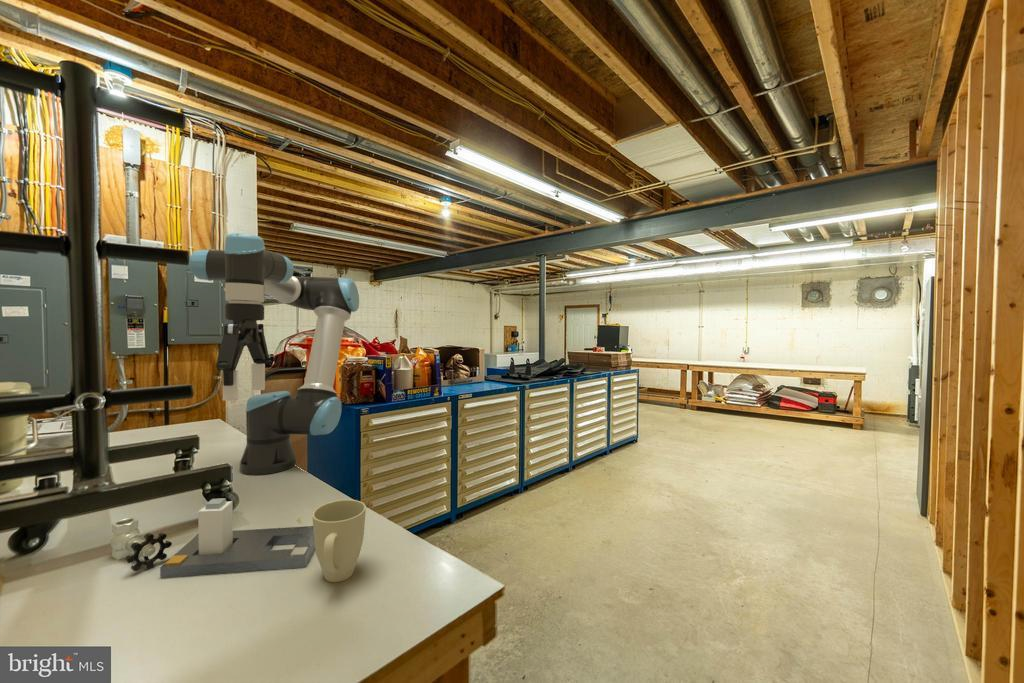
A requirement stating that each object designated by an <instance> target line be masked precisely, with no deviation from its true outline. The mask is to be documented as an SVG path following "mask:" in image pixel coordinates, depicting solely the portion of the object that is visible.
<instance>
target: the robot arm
mask: <svg viewBox="0 0 1024 683" xmlns="http://www.w3.org/2000/svg"><path fill="white" fill-rule="evenodd" d="M224 242H225V243H224V249H210V248H208V249H202V250H201V249H198V250H195V251H193V252H192V253H191V255H190V257H189V263H188V264H189V265H188V266H189V269H190V272H191V273H192V275H193V276H194V277H195V278H197V279H198V280H202V281H203V280H205V281H210V282H212V281H220V282H222V283H224V284H225V285H224V286H225V287H223V291H224V292H225V294H224V295H225V296H224V298H225V301H226V302H228V303H226V304H225V306H224V307H225V308H224V311H225V312H224V317H225V319H226V320H228V321H232V323H225V324H224V325H223V335H222V340H221V344H220V348H219V351H218V355H217V359H216V364H215V368H216V371H222V401H223V402H225V401H227V402H229V401H231V402H232V401H233V402H235V401H236V402H237V401H239V370H238V369H237V366H238V364H239V361H240V358H241V356H242V353H243V352H244V351H243V350H244V348H245V347H247V350H248V352H249V355H250V356H251V359H252V361H253V363H251V391H265V389H266V364H269V363H270V356H269V355H270V354H269V351H268V346H267V341H266V337H265V331H264V330H265V329H264V326H265V325H264V324H263V323H257V321H264V320H265V306H264V304H262V303H264V302H265V299H266V298H265V295H266V296H269V297H272V298H274V299H275V300H276V301H277V302H279V303H281V304H285V305H288V306H292V307H295V308H299V309H303V310H308V311H313V312H314V314H315V315H316V316H317V317H316V324H315V329H314V335H313V339H312V343H311V349H310V353H309V359H308V364H307V367H306V372H305V378H304V383H303V385H302V386H300V387H298V388H297V390H296V394H295V396H291V395H292V394H291V392H290V391H287V390H279V391H272V392H265V393H261V394H255V395H252V396H250V397H249V398H248V399H247V401H246V409H245V414H246V415H245V416H246V421H245V422H246V424H245V425H246V445H245V447H244V450H243V454H242V456H241V459H240V461H239V472H240V473H242V474H244V475H251V476H252V475H253V476H257V475H258V476H259V475H269V474H270V475H271V474H276V473H280V472H283V471H285V470H288V469H291V468H293V467H294V466H295V465H296V463H297V455H296V453H295V450H294V448H293V445H292V442H291V435H310V436H311V435H312V436H320V435H321V436H325V435H328V434H330V433H332V432H333V431H334V430H335V429H336V427H337V426H338V424H339V422H340V420H341V419H340V418H341V415H342V407H343V406H342V400H341V399H340V398H339V397H338V393H337V391H336V390H335V389H334V385H335V379H336V372H337V368H338V361H339V356H340V350H341V346H342V338H343V334H344V328H345V322H347V321H348V320H350V319H351V315H352V313H355V312H357V311H358V309H359V307H360V294H359V290H358V287H357V284H356V282H354V280H353V279H351V278H349V277H348V278H347V277H341V276H339V277H328V276H327V277H326V276H325V277H324V276H323V277H322V276H295V275H294V271H295V270H294V268H295V267H294V265H293V261H291V259H290V258H289V257H287V256H285V255H283V254H281V253H280V252H273V251H270V250H266V247H265V241H264V239H263V238H262V237H261V236H259V235H258V236H257V235H254V234H249V233H248V234H247V233H237V232H234V233H229V234H227V235H226V236H225V241H224ZM293 465H294V466H293Z"/></svg>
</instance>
